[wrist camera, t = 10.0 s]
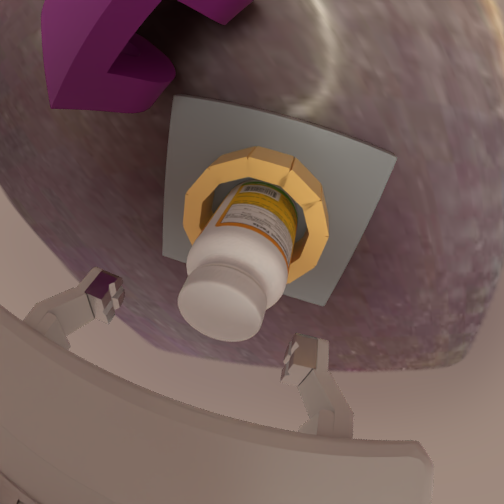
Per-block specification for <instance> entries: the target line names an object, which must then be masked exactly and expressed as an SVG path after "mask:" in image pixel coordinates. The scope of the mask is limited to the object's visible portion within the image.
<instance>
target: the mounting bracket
mask: <svg viewBox="0 0 504 504" xmlns="http://www.w3.org/2000/svg"><path fill="white" fill-rule="evenodd" d="M161 1H162V0H45V2H44V5H43V8H42V12H41V32H42V48H43V59H44V68H45V76H46V83H47V90H48V96H49V102H50V107H51V109H79V110H96V111H109V112H119V113H139V112H143V111H145V110H147V109H149V108H150V107H151V106H152V105H153V104H154V102H155V101H156V100H157V98H158V97H159V96H160V95H161V93H162V92H163V91H164V90H165V88H166V87H167V86H168V85H169V84H170V82H171V81H172V80H173V79H174V78H175V74H176V72H175V68H174V66H173V64H172V62H171V61H170V60H169V58H168V57H167V56H166V55H164V54H163V53H162V52H161V51H160V50H159V49H157V48H156V47H155V46H154V45H153V44H151V43H150V42H149V41H148V40H147V39H145V38H143V37H142V36H140V35H138V34H136V33H135V32H136V31H137V29H138V28H139V27H140V25H141V24H142V23H143V22H144V21H145V19H146V18H147V17H148V16H149V14H150V13H151V12H152V11H153V10H154V9H155V8H156V6H157V5H158V4H159V3H160V2H161ZM177 1H179V2H181V3H183V4H185V5H187V6H189V7H191V8H193V9H194V10H196V11H198V12H200V13H202V14H203V15H205V16H207V17H209V18H210V19H212V20H214V21H216V22H218V23H220V24H222V25H226V24H227V23H228V22H229V21H230V20H231V19H232V18H233V17H235V16H236V15H237V14H238V13H239V12H240V11H242V10H243V9H244V8H245V7H246V6H247V5H249V4H250V3H251V2H252V1H254V0H177Z"/></svg>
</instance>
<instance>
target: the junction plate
mask: <svg viewBox="0 0 504 504" xmlns="http://www.w3.org/2000/svg"><path fill="white" fill-rule="evenodd" d="M396 160H397V157H396V156H395V154H394V153H391V152H389V151H387V150H385V149H382V148H380V147H377V146H375V145H372V144H370V143H367V142H365V141H362V140H360V139H357V138H354V137H352V136H349V135H346V134H344V133H341V132H338V131H335V130H332V129H329V128H326V127H323V126H320V125H317V124H314V123H311V122H307V121H304V120H301V119H297V118H294V117H290V116H287V115H283V114H279V113H276V112H272V111H268V110H264V109H260V108H255V107H251V106H246V105H242V104H237V103H232V102H227V101H222V100H217V99H211V98H205V97H199V96H192V95H186V94H177V95H174V97H173V104H172V112H171V120H170V129H169V139H168V149H167V160H166V174H165V189H164V210H163V253H162V255H163V256H166V257H169V258H171V259H174V260H177V261H180V262H183V263H186V264H187V257H188V254H189V251H190V249H191V247H192V245H193V243H194V242H195V240H196V239H197V237H198V236H199V234H200V233H201V231H202V230H203V228H204V227H205V226H206V224H207V223H208V221H209V220H210V218H211V217H212V216H213V214H214V213H215V211H216V210H217V208H218V207H219V206H220V204H221V203H222V201H223V200H224V199H225V197H226V196H227V194H228V193H229V192H230V191H231V190H232V189H233V188H234V187H235V186H237V185H239V184H241V183H243V182H246V181H250V180H262V181H265V182H269V183H272V184H275V185H278V186H280V187H281V188H283V189H284V190H285V191H286V192H287V193H288V194H289V195H290V196H291V198H292V199H293V201H294V203H295V206H296V209H297V213H298V223H297V230H296V236H295V241H294V247H293V252H292V257H291V263H290V268H289V273H288V279H287V283H286V287H285V290H284V292H283V295H287V296H290V297H293V298H297V299H300V300H303V301H307V302H310V303H314V304H317V305H320V306H324V305H325V304H326V302H327V300H328V298H329V297H330V295H331V293H332V291H333V290H334V288H335V286H336V284H337V282H338V281H339V279H340V277H341V275H342V273H343V271H344V270H345V268H346V266H347V264H348V262H349V260H350V258H351V256H352V254H353V253H354V251H355V249H356V247H357V245H358V243H359V241H360V239H361V237H362V235H363V233H364V231H365V229H366V227H367V225H368V223H369V220H370V218H371V216H372V214H373V212H374V210H375V208H376V206H377V203H378V201H379V199H380V197H381V195H382V192H383V190H384V188H385V186H386V183H387V181H388V179H389V176H390V174H391V172H392V169H393V167H394V165H395V162H396Z"/></svg>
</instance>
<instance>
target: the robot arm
mask: <svg viewBox="0 0 504 504" xmlns="http://www.w3.org/2000/svg"><path fill="white" fill-rule="evenodd" d="M122 284H123V280H122V278H121V277H119V276H117V275H114V274H112V273H109V272H107V271H105V270H102V269H100V268H98V267H94V268H92V269H91V271H90V272H89V273H88V274H87V275H86V277H85V278H84V279H83V280H82V281H81V283H80V284H79V285H78V286H77V288H71V289H69V290H67V291H64V292H62V293H59V294H57V295H55V296H52V297H50V298H48V299H46V300H43V301H41V302H39V303H36V305H35V306H34V307H33V308H32V310H31V311H30V312H29V313H28V315H27V316H26V317H25V319H24V320H23V321H22V320H20V319H19V318H17V317H16V316H15V315H13V314H12V313H11V312H9V311H8V310H7V309H5V308H4V307H3V306H1V305H0V504H431V501H432V493H433V483H434V465H433V462H432V460H431V458H430V457H429V455H428V453H427V452H426V450H425V449H424V447H423V446H422V445H421V444H420V442H418V441H413V440H406V441H389V440H388V441H387V440H364V439H363V440H362V439H352V437H353V417H354V415H353V414H354V413H353V411H352V409H351V408H350V406H349V404H348V402H347V401H346V399H345V397H344V395H343V393H342V392H341V390H340V388H339V386H338V385H337V383H336V381H335V379H334V378H333V376H332V374H331V373H329V372H328V356H329V342H328V341H327V340H323V339H319V338H316V337H312V336H308V335H303V334H299V333H295V334H294V336H293V339H292V342H290V343H289V345H288V347H287V349H286V352H285V356H284V361H283V362H284V364H285V366H284V368H283V369H282V374H281V380H280V383H284V384H288V385H292V386H296V387H298V390H299V393H300V395H301V398H302V400H303V403H304V405H305V408H306V410H307V413H308V415H309V418H310V419H309V420H308V421H307V422H305V423H304V424H303V425H301V426H300V427H299V430H298V432H294V431H289V430H284V429H278V428H273V427H269V426H264V425H259V424H255V423H251V422H247V421H242V420H239V419H234V418H231V417H228V416H224V415H220V414H217V413H213V412H210V411H207V410H204V409H201V408H197V407H194V406H191V405H188V404H185V403H182V402H180V401H177V400H174V399H171V398H169V397H166V396H164V395H161V394H158V393H156V392H153V391H151V390H148V389H146V388H144V387H141V386H139V385H137V384H134V383H132V382H130V381H127V380H125V379H123V378H121V377H119V376H117V375H114V374H112V373H110V372H108V371H106V370H104V369H102V368H100V367H98V366H96V365H94V364H92V363H90V362H88V361H86V360H85V359H83V358H81V357H79V356H78V355H76V354H74V353H72V352H70V351H69V348H70V343H69V342H68V339H67V337H66V336H68V335H69V334H71V333H73V332H74V331H76V330H77V329H79V328H81V327H82V326H84V325H86V324H87V323H89V322H91V321H92V320H94V318H95V319H97V320H99V321H102V322H104V323H106V324H109V323H110V321H111V320H112V318H113V317H114V315H115V309H118V308H120V306H121V305H122V303H123V300H124V297H125V291H124V288H123V287H122V286H121V285H122Z"/></svg>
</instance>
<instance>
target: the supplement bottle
mask: <svg viewBox="0 0 504 504" xmlns="http://www.w3.org/2000/svg"><path fill="white" fill-rule="evenodd" d="M297 223H298V213H297V209H296V206H295V203H294V201H293V199H292V198H291V196H290V195H289V194H288V193H287V192H286V191H285V190H284V189H283V188H281V187H280V186H278V185H275V184H272V183H269V182H265V181H262V180H250V181H246V182H243V183H241V184H239V185H237V186H235V187H234V188H233V189H232V190H231V191H230V192H229V193H228V194H227V196H226V197H225V199H224V200H223V201H222V203H221V204H220V206H219V207H218V208H217V210H216V211H215V213H214V214H213V216H212V217H211V218H210V220H209V221H208V223H207V224H206V226H205V227H204V228H203V230H202V231H201V233H200V234H199V236H198V237H197V239H196V240H195V242H194V243H193V245H192V247H191V249H190V251H189V254H188V257H187V265H186V267H187V274H188V277H187V279H186V281H185V283H184V285H183V287H182V289H181V291H180V293H179V296H178V307H179V310H180V312H181V314H182V316H183V317H184V319H185V320H186V321H187V322H188V323H189V324H190V325H191V326H192V327H193V328H195V329H196V330H197V331H199V332H201V333H202V334H204V335H206V336H209V337H211V338H214V339H217V340H222V341H230V342H236V341H243V340H246V339H249V338H251V337H252V336H254V335H255V334H256V333H257V332H258V331H259V329H260V327H261V324H262V321H263V318H264V314H265V311H266V309H268V308H270V307H271V306H273V305H274V304H275V303H276V302H277V301H278V300H279V299H280V297H281V296H282V294H283V292H284V290H285V287H286V283H287V279H288V273H289V268H290V263H291V257H292V252H293V247H294V241H295V236H296V230H297Z"/></svg>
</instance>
